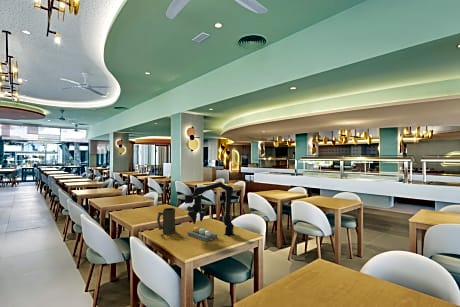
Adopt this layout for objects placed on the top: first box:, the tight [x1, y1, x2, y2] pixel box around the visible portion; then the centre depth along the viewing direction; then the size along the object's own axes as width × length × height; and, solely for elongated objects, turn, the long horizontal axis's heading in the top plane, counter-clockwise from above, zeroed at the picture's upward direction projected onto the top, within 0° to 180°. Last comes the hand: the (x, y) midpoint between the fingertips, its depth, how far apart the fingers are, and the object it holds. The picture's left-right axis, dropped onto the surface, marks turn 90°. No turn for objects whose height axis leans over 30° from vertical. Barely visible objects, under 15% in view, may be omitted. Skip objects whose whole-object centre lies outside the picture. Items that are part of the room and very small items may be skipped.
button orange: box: [193, 226, 201, 233], centre depth 203 cm, size 5×5×4 cm
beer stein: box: [156, 207, 177, 235], centre depth 208 cm, size 15×11×20 cm
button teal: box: [199, 228, 206, 235], centre depth 199 cm, size 5×5×4 cm
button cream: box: [205, 229, 212, 237], centre depth 194 cm, size 5×5×4 cm
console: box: [187, 229, 218, 242], centre depth 198 cm, size 12×22×2 cm, turn 47°
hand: (197, 222), depth 199 cm, fingers open, 9 cm apart
